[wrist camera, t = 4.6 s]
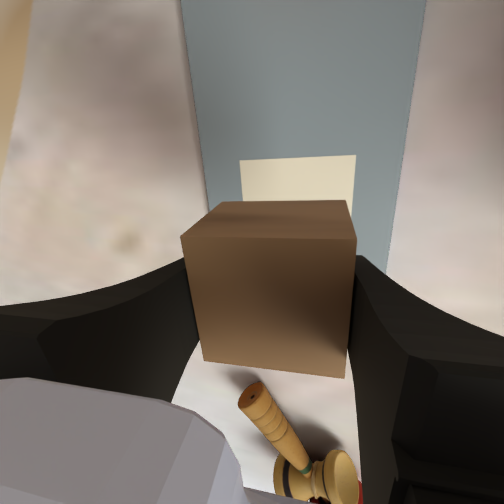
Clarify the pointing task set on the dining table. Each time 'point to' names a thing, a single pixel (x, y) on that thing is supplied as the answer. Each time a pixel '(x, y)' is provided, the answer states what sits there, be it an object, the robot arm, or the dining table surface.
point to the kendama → (300, 457)
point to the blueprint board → (306, 103)
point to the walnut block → (273, 284)
